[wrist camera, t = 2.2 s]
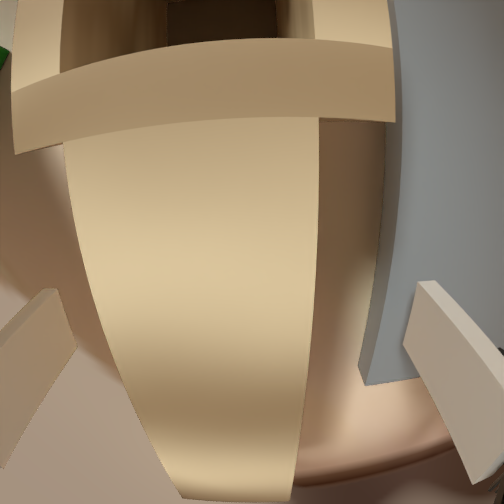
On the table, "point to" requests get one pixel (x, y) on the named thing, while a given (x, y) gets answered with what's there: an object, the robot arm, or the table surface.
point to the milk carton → (3, 55)
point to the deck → (440, 175)
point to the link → (201, 209)
